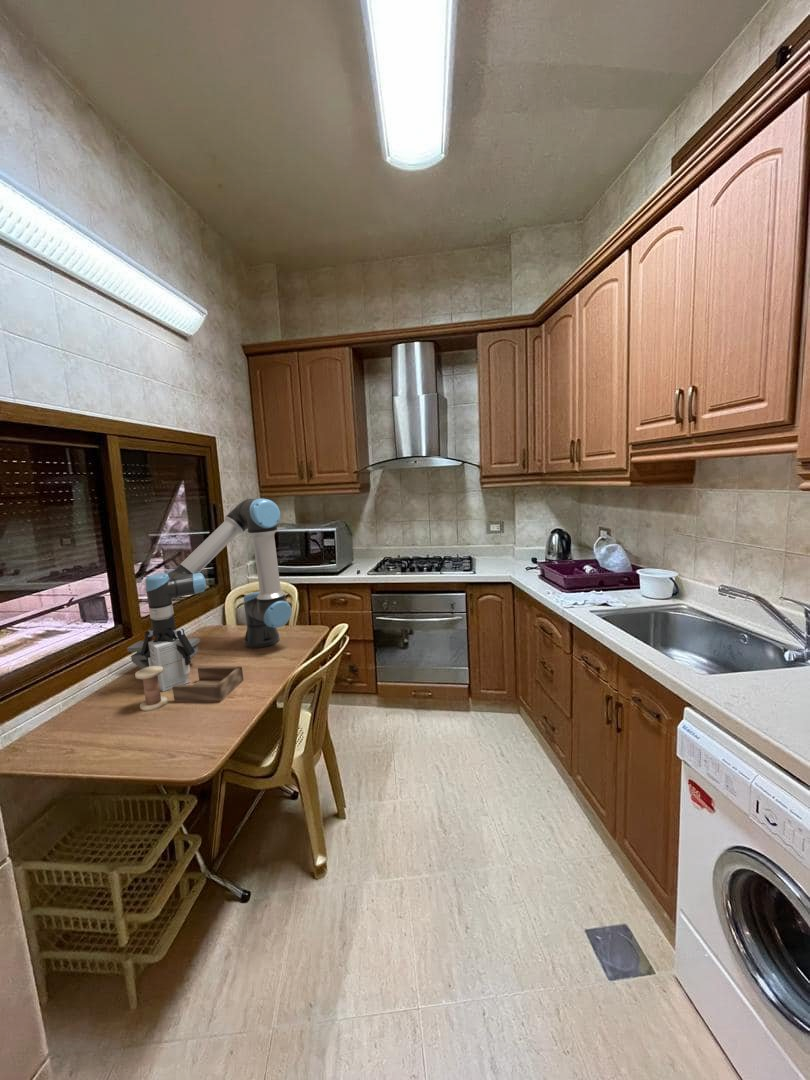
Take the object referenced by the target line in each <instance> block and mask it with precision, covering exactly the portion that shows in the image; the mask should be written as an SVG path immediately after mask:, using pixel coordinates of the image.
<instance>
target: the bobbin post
mask: <svg viewBox="0 0 810 1080" xmlns="http://www.w3.org/2000/svg"><path fill="white" fill-rule="evenodd" d="M162 672H163V667H162V666H150V667H146V668H143V669H141V668H140V669H139V670H137V671H136V672H135V674H134V675H135V679H137V680H142V684H143V686H142V687H143V692H144V697H145V700H143V701H142V702H140V704H139V708H140V710H141V711H143V712H149V711H150V712H152V711H155V710H158V709H160V708H163V707H164V706H165V705H167V704H168V702H169V701H168V697H167V696H165V695H161V690H160V688H159V682H158V675H159V674H161V673H162Z"/></svg>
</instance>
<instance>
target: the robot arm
mask: <svg viewBox="0 0 810 1080" xmlns="http://www.w3.org/2000/svg"><path fill="white" fill-rule="evenodd" d="M280 519H281V511H280V508H279V506H278V504H276V503H275V502H274V501H273V500H271V499H267V498H261V497H260V498H246V499H245V500H243V501H241V502H240V503H239V504H237V505H236V506H235V507H234V508H233V509H232V510H231V511H230V512H229V513H228V514H227V515H226V516H225V517H224V521H223V522H222V523H221V524H220V525H219V526H218V527H217V528H216V529H215V530H214V531H213V532H212V533H211V534H209V535H208V537H206V538H205V539H204V540H203V542H202V543H200V544H199V545H198V546H197V548H195V549H194V550H193V551H192V552H190V554H189V555H188V556H187V557H186V558H185V559H184V560H183V561H181V562H180V564H179V565H177V566H176V567H175V568H174V569H172V570H169V571H167V572H166V573H156V574H150V575H149V576H146V578H145V580H144V581H145V592H146V598H147V603H148V610H149V618H150V619H151V620H150V626H151V628H150V629H148V630H146V631H145V632H144V640H143V641H144V643H143V647H142V650H141V654H140V655H141V656H145V657H146V658H147V664H148V665H149V667H150V666H152V662H151V656H150V649H149V644H148V642H150V641H151V640H154V641H153V642H158V641H168V642H174V641H175V640H177V639H179V641H180V642H181V644H182V646H183V647H182V646H179V645H177V644H176V646H177V650H178V651H179V652H180V653H181V654H182V655H183V657H182V665H183V672H184V675H186V674H188V675H189V673H190V672H191V666H190V664H191V663H192V662H191V660H192V659H191V660H190V655H192V654H193V653H194V652H195V651H194V649H193V647H192V646H191V644H190V642H189V641H188V639H187V638H188V637H187V636H186V634H185V630H184V628H180V629H176V619H175V616H174V614H175V612H174V606H173V605H174V604H173V599H177V598H182V597H187V596H191V595H197V594H201V593H203V592H205V591H206V587H207V582H206V578H205V576H204V574H202V573H201V571H202V570H203V569H204V568H206V566H208V564H210V563H211V562H212V560H214V558H216V556H218V555H219V553H220V552H222V551H223V550H224V548H226V547H227V546H228V545H229V543H231V541H232V540H234V539H235V537H236V536H237V535H239V534H243V533H244V532H245V531H246V530H247V533H248V535H250V536H251V537H252V542H253V544H252V545H253V551H254V557H255V566H256V573H257V580H258V588H259V591H255V592H254V591H253V592H250V593H247V594H245V595H244V596H243V606H244V614H245V615H244V616H245V621H246V631H245V636H244V646H245V647H246V648H250V649H261V648H266V647H270V646H273V645H275V644H277V643H278V642H279V641H280V639H281V636H280V633H279V632H278V628H281V627H283V626H285V625H286V624H287V623H288V622H289V621H290V619H291V617H292V612H293V611H292V610H293V609H292V607H291V604H289V602H287V599H286V593H285V591H283V590H282V588H281V581H280V572H279V563H278V557H277V548H276V540H275V534H276V533H277V531H278V523H279V521H280ZM177 636H178V637H177ZM153 637H154V639H153ZM173 639H174V640H173Z"/></svg>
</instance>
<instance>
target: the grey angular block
mask: <svg viewBox="0 0 810 1080" xmlns="http://www.w3.org/2000/svg"><path fill="white" fill-rule="evenodd" d="M187 639H188V641H189V642H190V644H191V646H192V647H193V649H194V651H195V652H194V653H193V654H192V655H190V660H192V659H193V658H194V656H196V654H197V653H198V652H199V646H198V644H199V643H200V642H201V639H200V637H196V638H194V637H192V638H188V637H187ZM153 640H154V639H152V640H151V641H153ZM143 643H144V640H139V641H137V642H135V643H132V645H130V646H128V647H127V648H126V652H128V653H131V652H134V654H132V655H131V656H130V660H131V663H132V664H135V666H137V667H138V668H140V670H141V669H143V668H146V667H149V665H148V664H147V658H146V657H145V656H141V655H140V654H141V650H142V647H143Z"/></svg>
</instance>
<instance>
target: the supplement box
mask: <svg viewBox="0 0 810 1080" xmlns="http://www.w3.org/2000/svg"><path fill="white" fill-rule="evenodd" d="M177 637H178V636H177ZM152 640H153V641H154V639H152ZM173 640H174V639H173ZM153 641H150V642H148V644H149V649H150V656H151V662H152V666H162V667H163V672H162V673H161V674H159V675H158V682H159V688H160V692H167V691H170V690H173V688H172V687H173V686H174V685H187V684H188V683H190V677H189V673H188V674H186V675H184V672H183V665H182V657H183V655H182V654H181V653H180V652H179V651H178V650H177V646H176V644H177V645H179V646H182V644H181V642H180V641H179V639H177V640H175V641H174V642H168V641H158V642H153ZM182 647H183V646H182Z"/></svg>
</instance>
